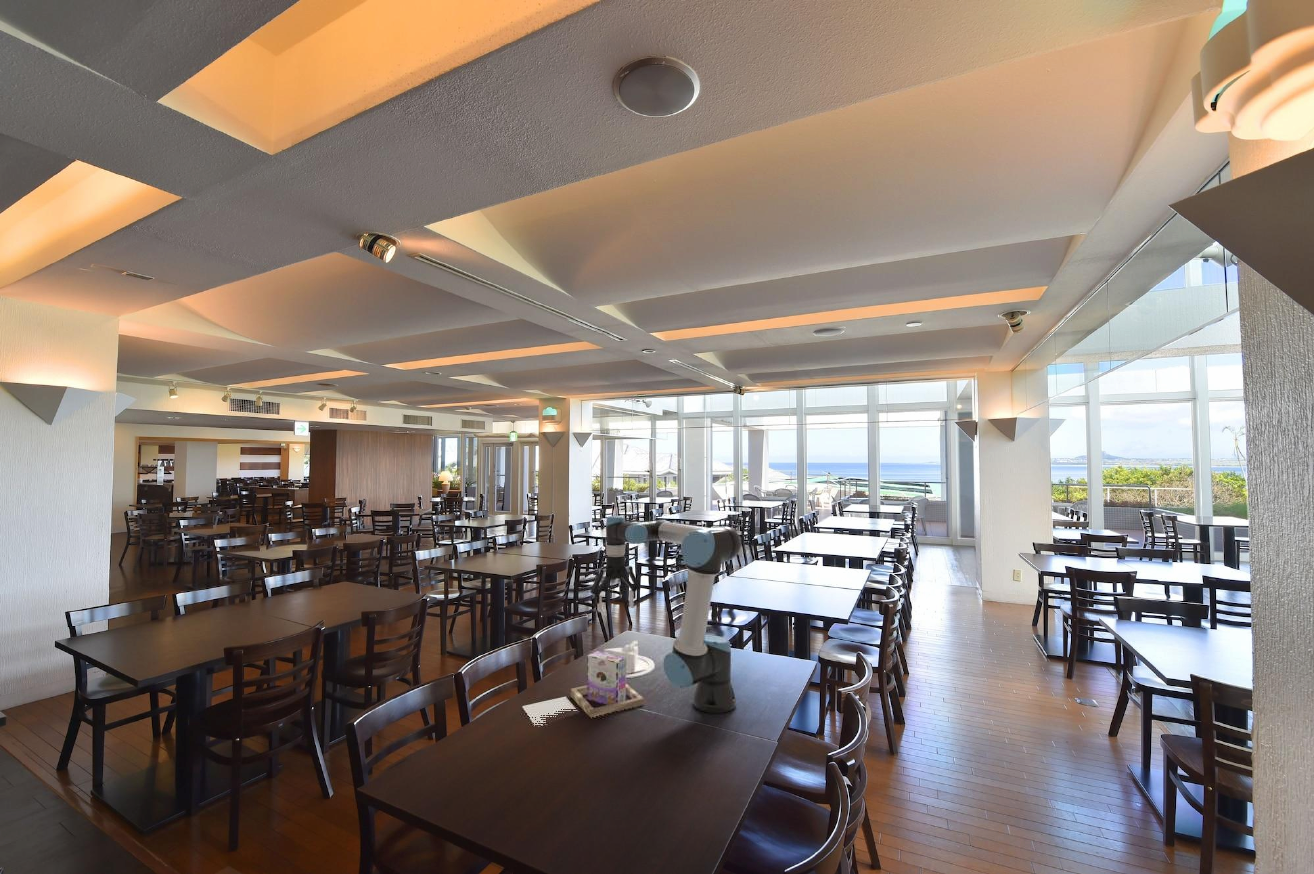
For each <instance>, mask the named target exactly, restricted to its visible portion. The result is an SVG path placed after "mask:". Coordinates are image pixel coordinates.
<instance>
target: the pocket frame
mask: <svg viewBox="0 0 1314 874" xmlns="http://www.w3.org/2000/svg"><path fill="white" fill-rule="evenodd" d="M584 696H588V684H587V685H582V686H577V687H574V688H573V687H572V688H570V698H572V699H573V700H574V701H575V702H576V704H577V705H578V706H579V707H580V708H581V709H582V710H583V712H585V713H586V714H587V716H588V717H589V718H590V717H591V718H590V719H593V718H592V717H594V718H597V717H596V716H598V717H600V716H599V715H602V716H605V715H604V714H606V713H610V714H613V713H612V712H614V713H616V712H615V711H618V712H621V710H622V711H625V710H624V709H626V710H629V708H630V709H633V708H632V707H634V708H637V707H641V705H642V706H644V705H645V699H644V697H643V696H642V695H640V694H639V693H638V692H637V691H636V690H635V689H633V688H632V687H631V686H630V685H629V684H628V683H626V697H627V696H628V697H629V698H630V699H626V701H623V702H618V703H614V704H610V705H602V706H599V707H593V706H592V705H591V704H590V703H589V702H588V701H587V700H586V698H585V697H584ZM606 715H607V714H606Z"/></svg>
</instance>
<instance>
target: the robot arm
mask: <svg viewBox="0 0 1314 874" xmlns="http://www.w3.org/2000/svg"><path fill="white" fill-rule="evenodd" d="M648 541H660V542H661V541H662V542H667V543H673V544H679V545H681V547H680V554H681V555H682V560H683V561H684V563H685V568H686V569H687V571H688V576H687V577H688V578H687V585H686V589H685V590H686V591H685V596H684V603H683V609H682V615H681V622H680V629H679V635H678V637H677V638H675V639H674V640H673V645H672V649H671V650H672V651H671V652H668V653H667V654H666V655H665V656H664V658H663V670H664V671H663V672H664V673H665V674H664V675H665V676H666V678H667V680H668V681H669V683H670V684H671V685H673V686H674V687H675V688H677V689H685V688H690V687H692V686H693V685H695V689H694V692H693V694H692V704H693V706H694V708H696V709H698V710H699V711H702V712H705V713H708V714H724V713H729V712H731V711H733V710H734V709H735V708H736V705H737V703H736V701H737V700H736V695H735V692H734V688H733V685H732V678H731V677H732V672H731V670H732V666H731V665H732V664H731V663H732V662H731V661H732V657H731V656H732V649H731V642H730V641H729V640H728V639H727V638H725V637H723V636H719V635H715V634H714V635H713V634H712V635H710V634H706V633H707V632H706V631H707V627H708V622H709V621H708V620H709V615H710V608H711V602H712V594H713V590H714V588H713V587H714V582H715V578H716V576H717V575H719V574H720V573H721V569H722V563H723V562H728V561H730V560H733V559H734V558H735V557H736V556H738V555H739V553H740V550H741V546H742V540H741V537H740V535H739V533H738V532H737V531H736V530H735V529H734V528H732V527H730V526H727V525H726V526H718V525H713V526H711V527H705V526H700V525H699V526H698V525H691V524H683V523H676V522H675V523H674V522H669V521H668V520H665V519H657V520H652V521H651V520H650V521H638V522H626V518H625V516H623V515H610V516H608V517H606V523H605V553H606V555H605V556H606V557H605V565H606V567H605V568H598V572H597V576H596V578H595V579H594V583H593V585H592V586H591V589H590V593H591V594H592V595H595V598H594V599H595V604H597V608H596V610H597V612H598V613H602V612H603V610H602V604H603V603H602V602H603V599H602V597H603V596H602V592H603V590H605V588H606V587H607V585H608V583H609V582H610V581H612V580H614V581H615V580H621V579H622V580H623V582H624V583H625V584H626V585H627V586H628V587H629V590H628V605H629V607H630V609H633V608H634V605H635V603H634V602H635V599H636V595H637V594H636V593H637V590H640V588H641V586H640V584H639V582H638V579H637V577H636V574H635V573H634V569H633V566H632V565H627V566H626V556H625V555H626V543H629V544H633V545H636V544H637V545H639V544H640V545H641V544H643V543H645V542H648ZM626 572H627V573H628V575H629V578H630V579H631V581H632V582H631V581H630V580H629V579H628V577H627V576H626V575H625V573H626ZM605 573H606V575H605ZM604 575H605V577H604V579H603V576H604ZM602 579H603V580H602ZM629 607H628V608H629ZM728 711H729V712H728Z"/></svg>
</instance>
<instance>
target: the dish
mask: <svg viewBox="0 0 1314 874" xmlns="http://www.w3.org/2000/svg"><path fill="white" fill-rule="evenodd" d="M638 644H639V643H638V640H633V641H632V642H631V643H629V644H626V645H625V644H624V646H623V647H614V648H604V649H603V653H607V654H611V655H616V656H620V657H625V658H626V679H633V678H638V677H639V678H640V677H643V676H646V675H647V674H650V673H651V672H653V671H654V670H655V666H656V664H655V661H653V660H652V659H650V658H649V657H647V656H643V655H639V645H638ZM631 673H632V674H631Z"/></svg>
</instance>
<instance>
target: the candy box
mask: <svg viewBox="0 0 1314 874" xmlns="http://www.w3.org/2000/svg"><path fill="white" fill-rule="evenodd" d="M586 658H587V659H586V661H587V664H586V665H587V667H586V669H587V672H586V673H587V675H586V676H587V680H586V681H587V685H588V694H587V700H588V701H592V702H595V703H599V704H602V703H603V704H602V705H605V704H606V705H610V704H614V703H618V702H623V701H627V694H626V684H627V678H626V675H627V674H626V658H625V657H620V656H616V655H611V654H607V653H604V651H599V650H596V651H594V652H591V653H590V654H588V655H587V656H586ZM606 705H605V706H606Z"/></svg>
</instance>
